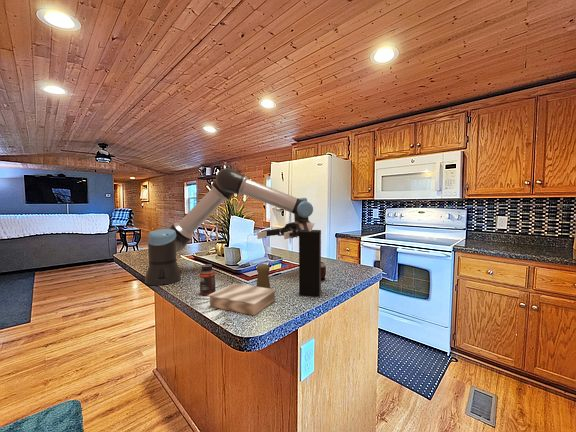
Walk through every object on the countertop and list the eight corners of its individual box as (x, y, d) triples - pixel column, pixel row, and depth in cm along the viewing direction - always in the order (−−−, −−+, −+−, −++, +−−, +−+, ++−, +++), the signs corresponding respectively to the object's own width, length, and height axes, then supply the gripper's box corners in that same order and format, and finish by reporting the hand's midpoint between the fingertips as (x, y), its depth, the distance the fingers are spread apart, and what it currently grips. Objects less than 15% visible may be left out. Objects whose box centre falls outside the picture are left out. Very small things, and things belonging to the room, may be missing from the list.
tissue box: (319, 297, 100) (319, 223, 98) (298, 295, 101) (298, 223, 100) (321, 290, 107) (321, 221, 106) (301, 289, 109) (301, 221, 108)
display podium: (207, 306, 91) (207, 295, 91) (234, 293, 105) (234, 283, 105) (254, 316, 83) (254, 303, 83) (276, 300, 97) (276, 289, 97)
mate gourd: (326, 278, 125) (326, 246, 124) (325, 282, 117) (325, 249, 117) (310, 277, 127) (310, 246, 126) (308, 282, 119) (308, 249, 118)
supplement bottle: (216, 290, 108) (215, 263, 108) (214, 295, 102) (214, 266, 102) (201, 291, 107) (200, 263, 107) (198, 296, 101) (198, 267, 101)
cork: (270, 293, 104) (270, 266, 103) (255, 294, 103) (255, 266, 103) (270, 288, 110) (270, 262, 109) (256, 289, 109) (255, 263, 109)
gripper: (317, 237, 126) (297, 245, 107) (273, 237, 138) (248, 244, 119) (316, 221, 125) (296, 226, 107) (271, 222, 137) (247, 227, 119)
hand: (271, 236), depth 113 cm, fingers open, 13 cm apart
